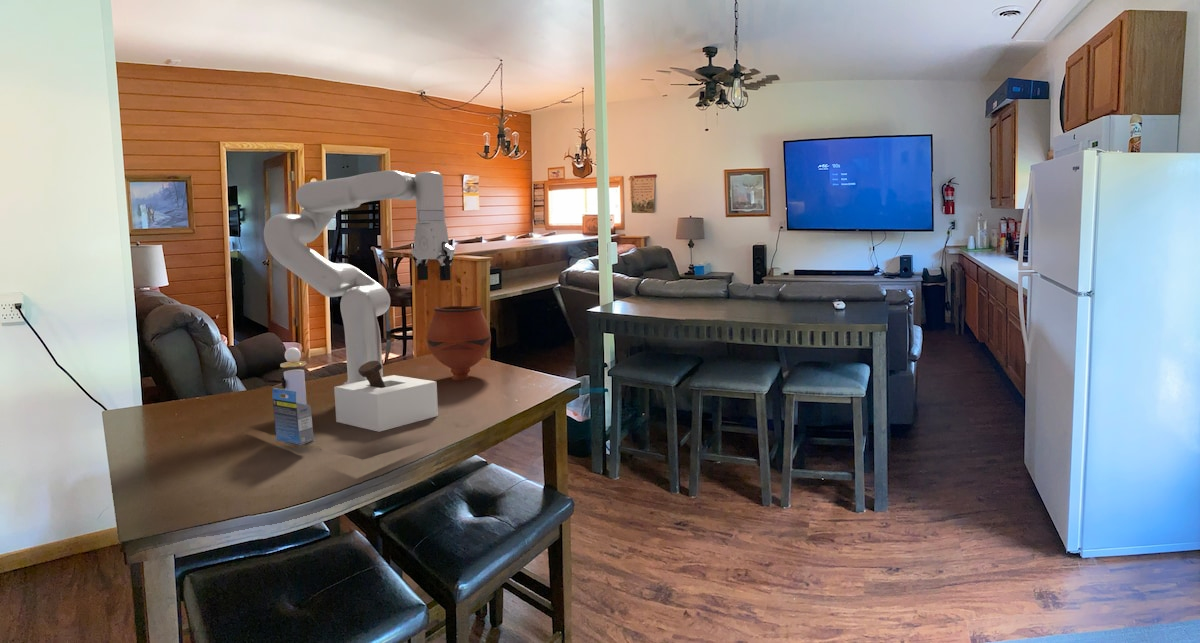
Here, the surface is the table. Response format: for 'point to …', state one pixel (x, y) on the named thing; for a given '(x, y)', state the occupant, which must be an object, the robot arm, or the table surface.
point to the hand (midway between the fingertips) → (433, 280)
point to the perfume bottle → (294, 375)
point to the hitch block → (386, 403)
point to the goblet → (459, 338)
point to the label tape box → (292, 418)
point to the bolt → (372, 373)
